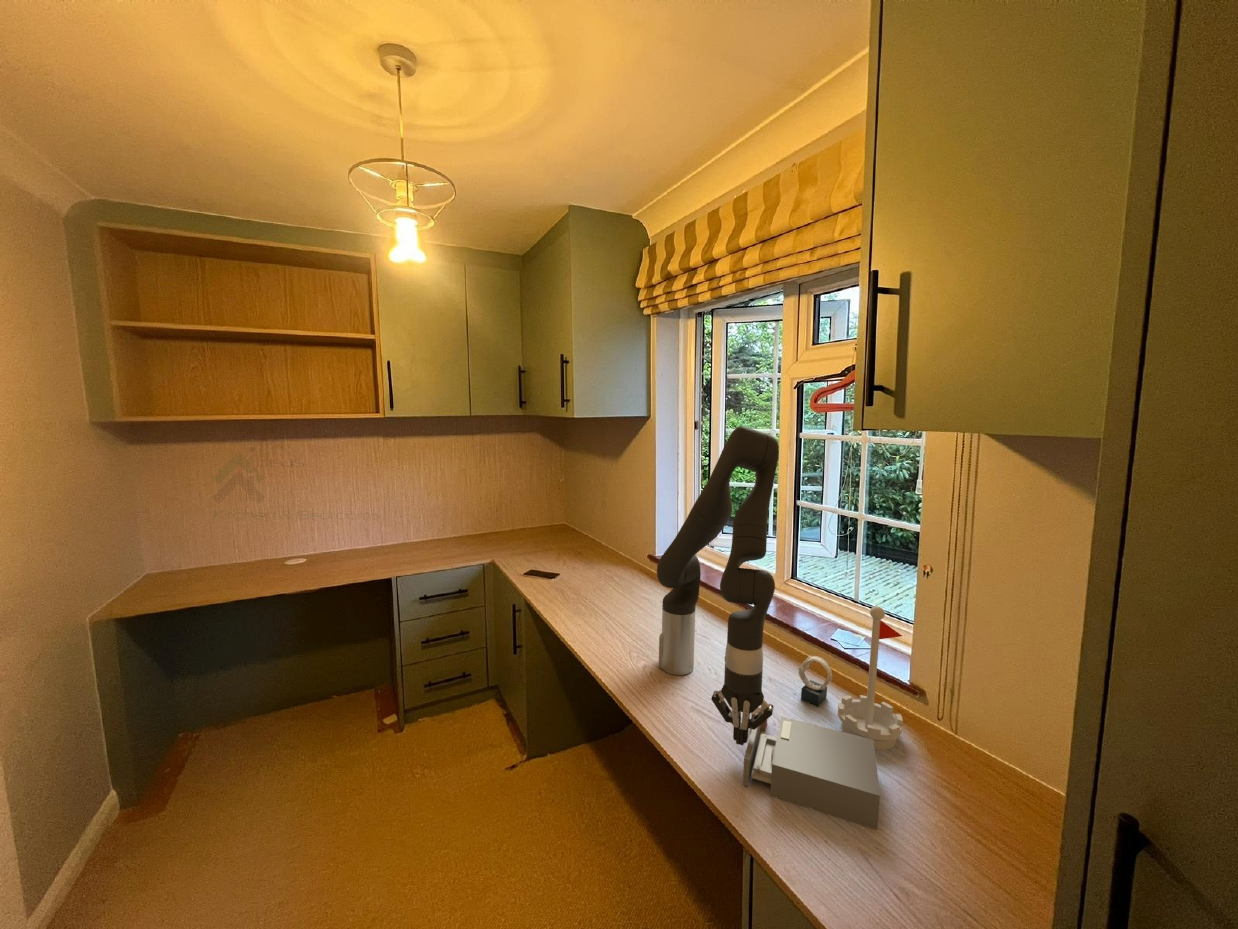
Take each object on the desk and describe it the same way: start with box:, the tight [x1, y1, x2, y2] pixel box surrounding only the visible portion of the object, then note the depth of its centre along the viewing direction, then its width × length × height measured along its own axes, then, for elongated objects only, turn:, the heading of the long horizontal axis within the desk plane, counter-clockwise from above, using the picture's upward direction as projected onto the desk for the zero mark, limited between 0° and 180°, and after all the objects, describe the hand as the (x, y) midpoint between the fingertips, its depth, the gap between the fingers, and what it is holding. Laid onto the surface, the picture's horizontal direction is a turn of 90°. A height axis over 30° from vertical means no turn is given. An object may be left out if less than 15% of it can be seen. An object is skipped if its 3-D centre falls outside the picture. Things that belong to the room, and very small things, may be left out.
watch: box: [797, 655, 833, 708], centre depth 124 cm, size 6×8×11 cm
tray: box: [742, 714, 777, 787], centre depth 98 cm, size 18×16×6 cm
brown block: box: [750, 706, 768, 733], centre depth 113 cm, size 3×3×4 cm
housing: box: [769, 715, 881, 830], centre depth 96 cm, size 18×16×7 cm
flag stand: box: [837, 605, 904, 751], centre depth 110 cm, size 13×13×30 cm
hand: (740, 742), depth 102 cm, fingers closed
